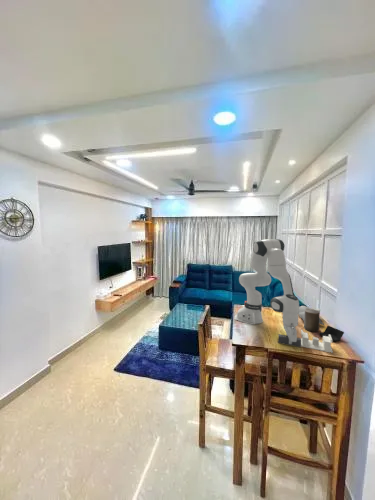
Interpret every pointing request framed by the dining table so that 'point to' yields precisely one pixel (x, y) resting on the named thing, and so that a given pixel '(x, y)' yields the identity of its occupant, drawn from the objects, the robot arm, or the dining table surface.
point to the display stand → (316, 342)
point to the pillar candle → (311, 320)
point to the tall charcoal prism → (284, 340)
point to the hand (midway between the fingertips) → (289, 341)
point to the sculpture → (302, 313)
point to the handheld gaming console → (333, 333)
